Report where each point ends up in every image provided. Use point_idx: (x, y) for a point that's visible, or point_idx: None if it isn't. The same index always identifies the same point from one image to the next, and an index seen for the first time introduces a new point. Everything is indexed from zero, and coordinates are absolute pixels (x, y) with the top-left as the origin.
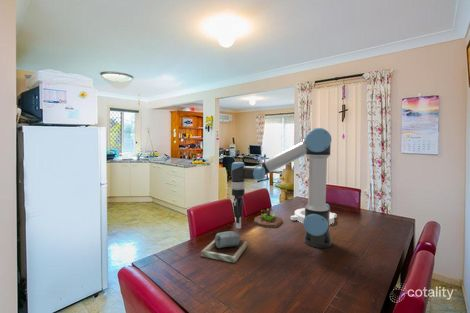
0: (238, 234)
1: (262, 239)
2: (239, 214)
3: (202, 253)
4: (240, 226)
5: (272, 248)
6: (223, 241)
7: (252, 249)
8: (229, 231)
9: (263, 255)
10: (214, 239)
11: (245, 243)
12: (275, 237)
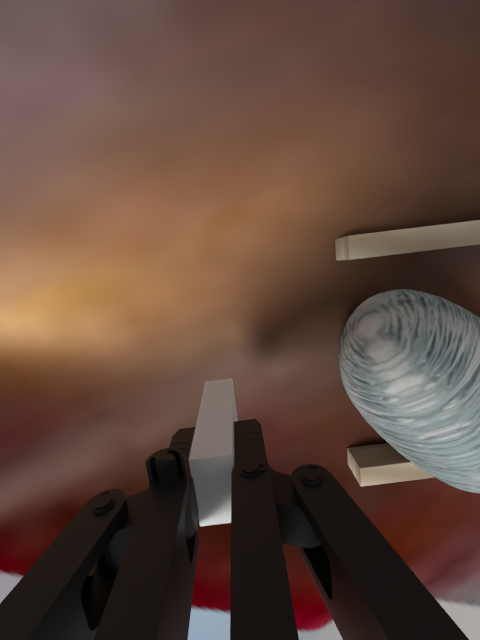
0: (396, 320)
1: (152, 176)
2: (259, 507)
3: None
4: (224, 387)
5: (280, 24)
6: None
7: (368, 178)
8: (460, 409)
9: (431, 54)
10: (415, 479)
11: (385, 235)
12: (43, 77)
